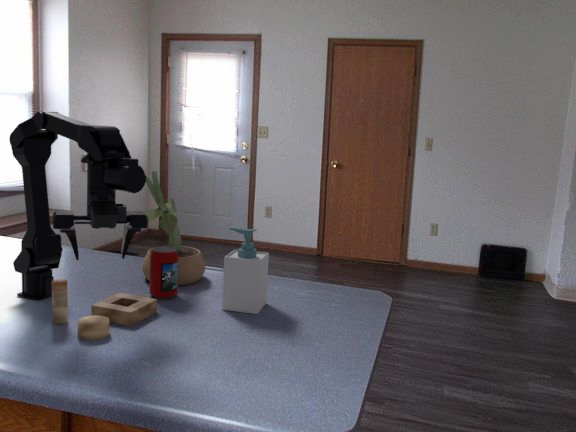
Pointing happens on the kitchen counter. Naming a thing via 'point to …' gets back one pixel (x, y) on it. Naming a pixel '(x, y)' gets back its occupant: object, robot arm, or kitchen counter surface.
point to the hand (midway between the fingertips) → (100, 259)
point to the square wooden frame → (125, 308)
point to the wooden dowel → (59, 302)
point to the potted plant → (173, 238)
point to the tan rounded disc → (93, 327)
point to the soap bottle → (245, 277)
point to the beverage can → (163, 272)
